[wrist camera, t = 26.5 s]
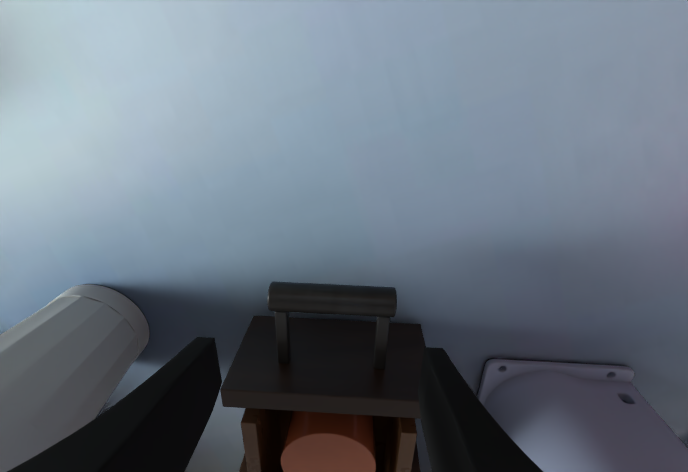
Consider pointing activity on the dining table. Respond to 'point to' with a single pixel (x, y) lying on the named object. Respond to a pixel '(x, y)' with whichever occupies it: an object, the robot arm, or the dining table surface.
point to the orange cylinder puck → (329, 443)
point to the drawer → (327, 370)
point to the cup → (64, 367)
